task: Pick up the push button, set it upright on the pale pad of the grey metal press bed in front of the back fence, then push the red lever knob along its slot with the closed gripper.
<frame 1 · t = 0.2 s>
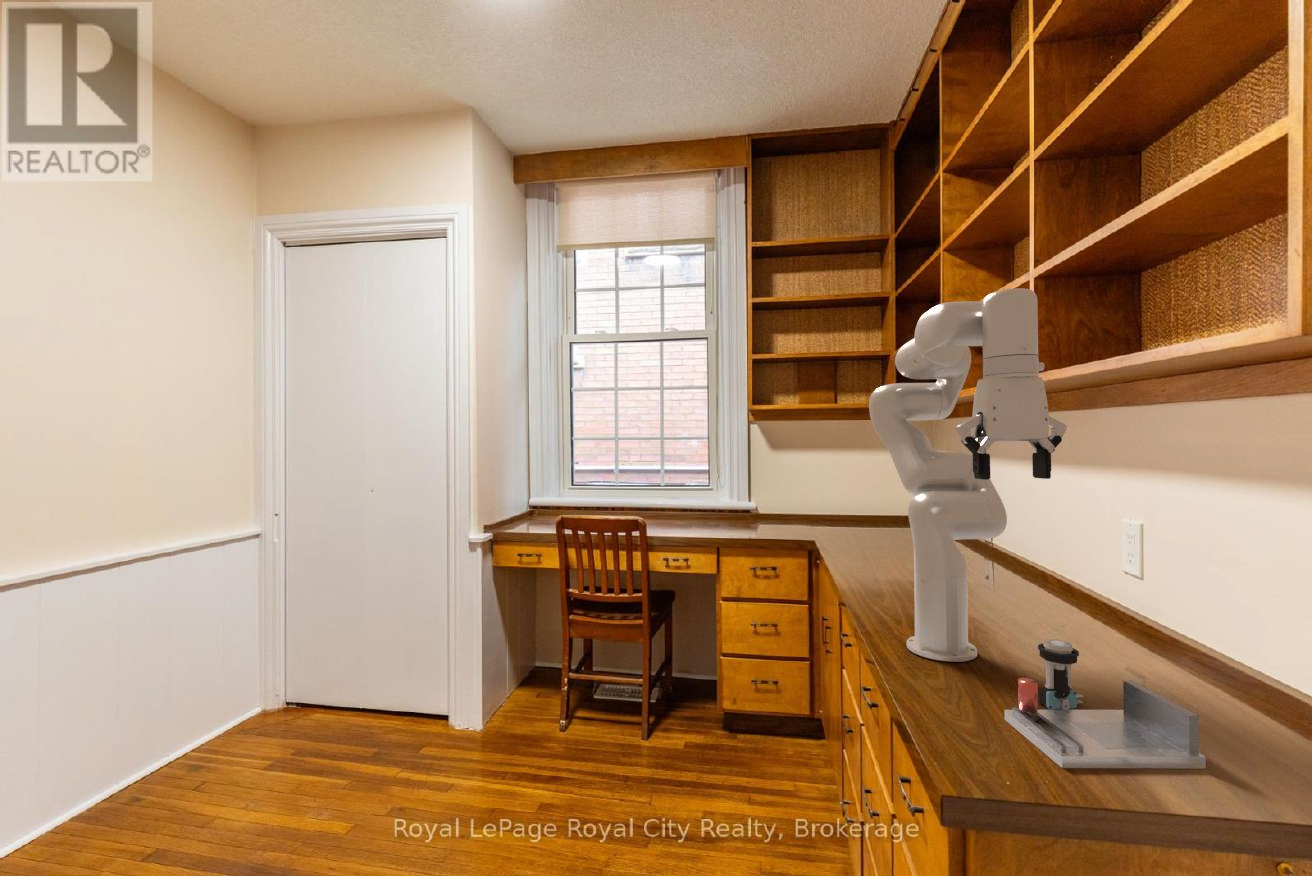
hand: (1011, 478, 93), 36 cm above the table, tool pointing down, fingers open, 9 cm apart
press bed: (1096, 742, 82), on the table
push button: (1062, 707, 93), on the table
lever: (1027, 698, 86), point 4 cm above the table, slide at 0.0 cm
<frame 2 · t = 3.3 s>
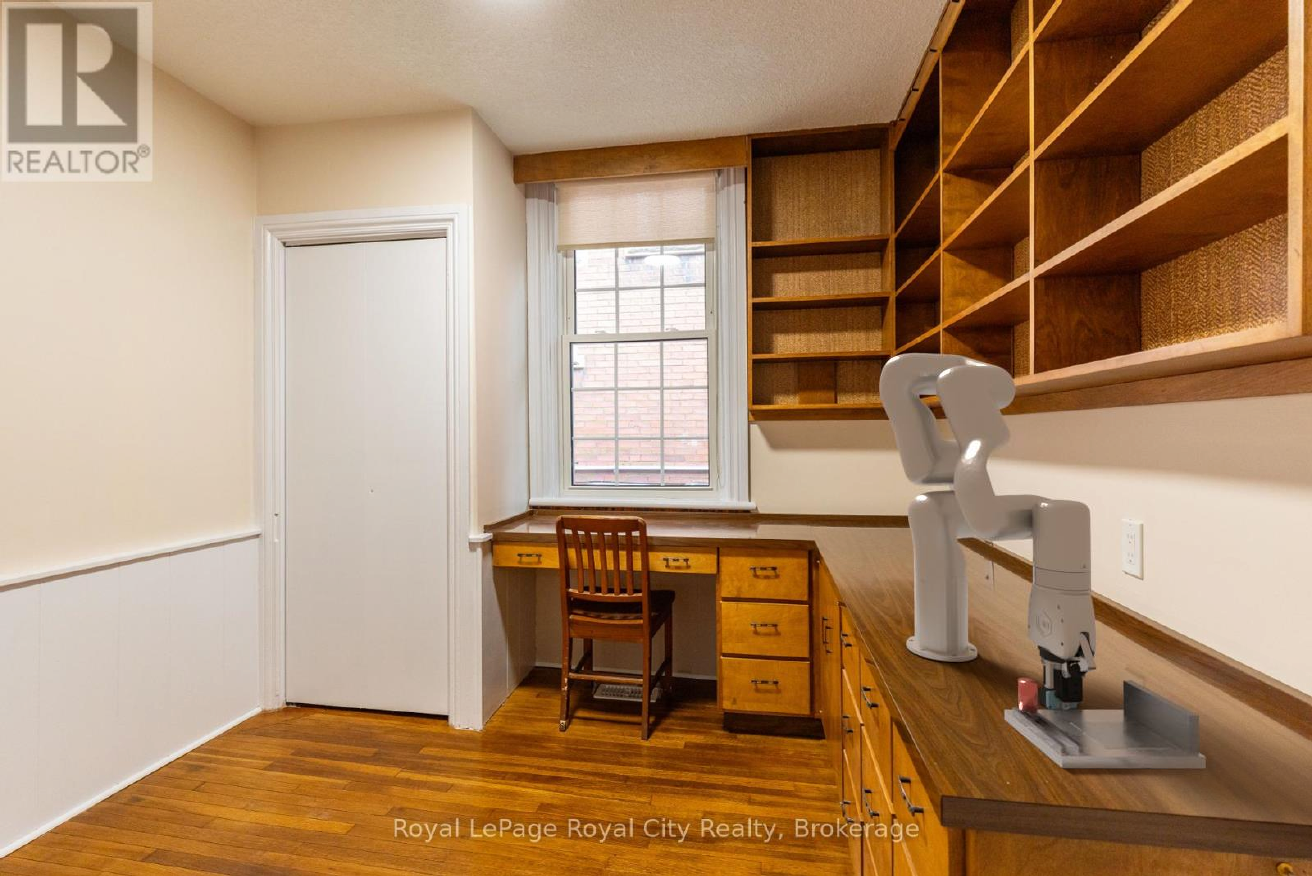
hand: (1062, 695, 93), 2 cm above the table, tool pointing down, fingers closed on push button, 3 cm apart
push button: (1062, 707, 93), on the table, touching gripper
everything else where it was.
when the fingers open (5 cm above the table, at t = 7.8 s): push button stays where it is, resting on press bed.
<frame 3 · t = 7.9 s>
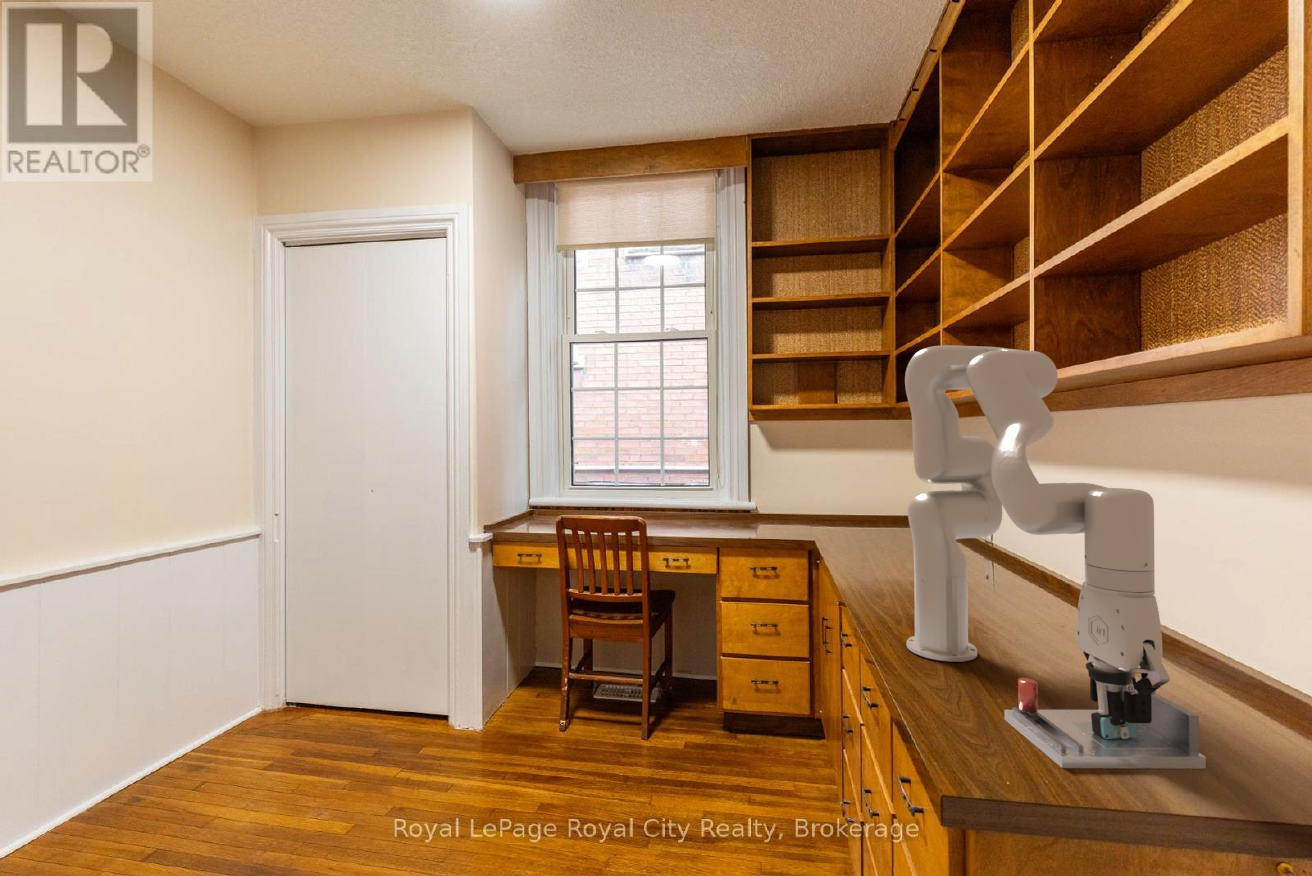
hand: (1119, 709, 81), 5 cm above the table, tool pointing down, fingers open, 5 cm apart
push button: (1120, 736, 80), point 2 cm above the table, touching press bed
everything else where it was.
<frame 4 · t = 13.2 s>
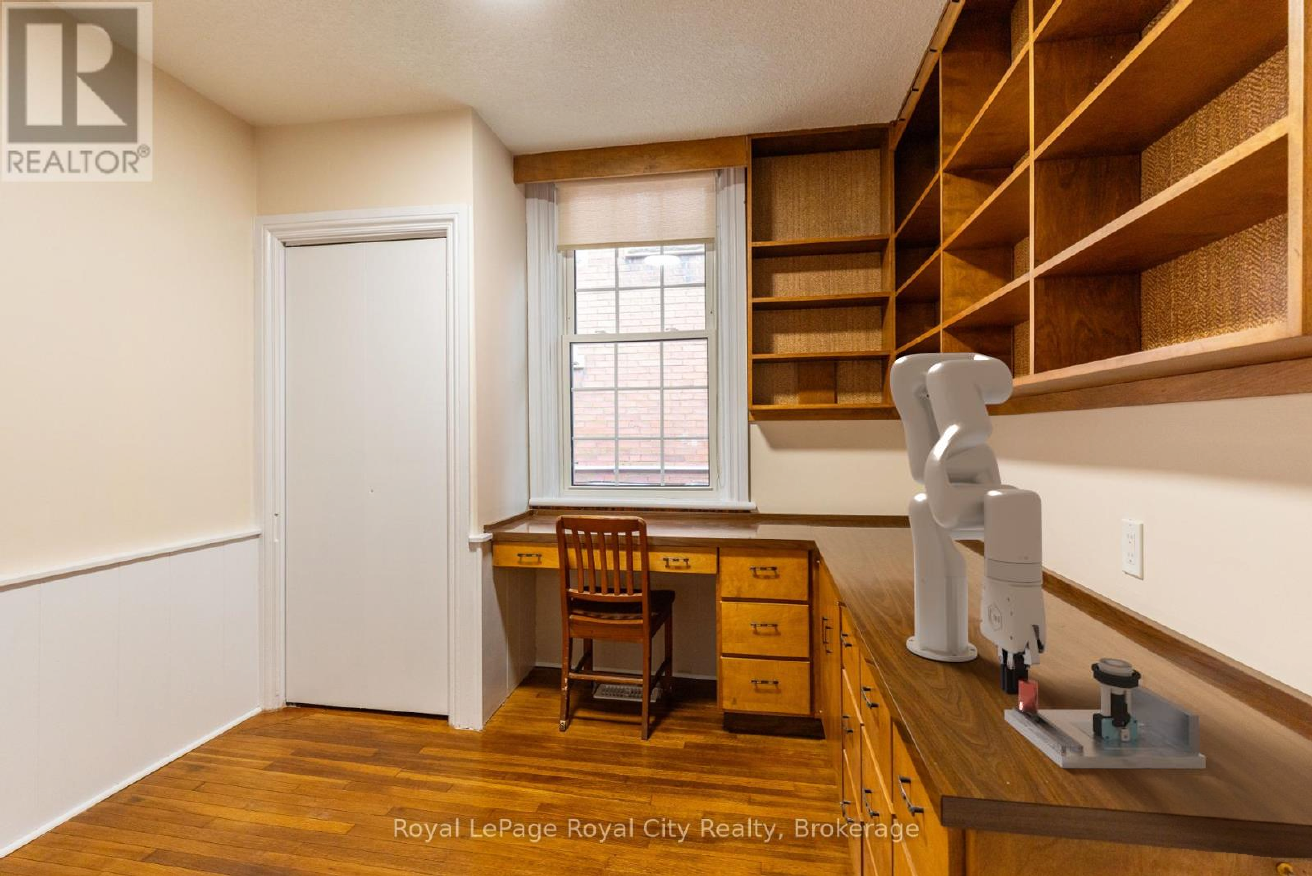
hand: (1014, 692, 89), 4 cm above the table, tool pointing down, fingers closed
lever: (1028, 698, 86), point 4 cm above the table, slide at 0.1 cm, touching gripper
everything else where it was.
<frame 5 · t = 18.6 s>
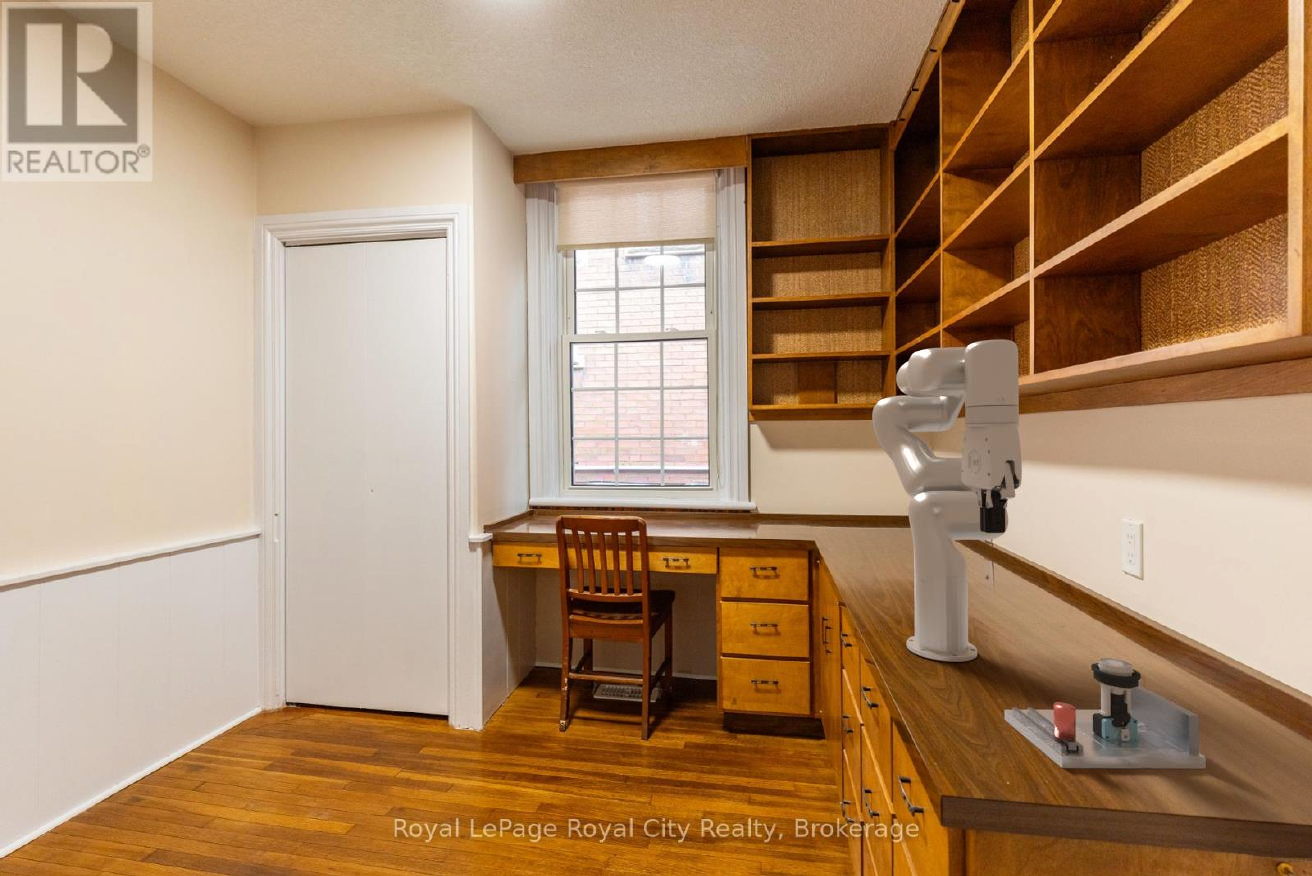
hand: (992, 532, 95), 27 cm above the table, tool pointing down, fingers closed
lever: (1064, 725, 78), point 4 cm above the table, slide at 8.0 cm
everything else where it was.
at the end: push button inside the target area on the press bed (0.5 cm from its centre), point 1.4 cm above the press bed's base; push button tilted 0°; lever slide at 8.0 cm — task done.
